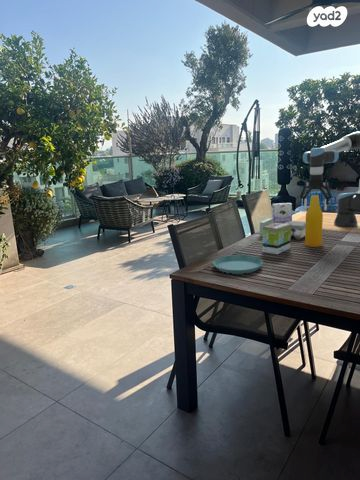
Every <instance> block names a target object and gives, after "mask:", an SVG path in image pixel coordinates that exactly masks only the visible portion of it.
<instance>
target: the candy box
mask: <svg viewBox="0 0 360 480" xmlns="http://www.w3.org/2000/svg"><path fill="white" fill-rule="evenodd" d="M271 207H272V209H271V211H272V214H271V215H272V216H271V218H273V224H274V223H284V224H285V223H286V222H289V221H293V203H291V202H279V203H272V205H271Z"/></svg>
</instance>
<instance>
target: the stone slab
mask: <svg viewBox="0 0 360 480" xmlns="http://www.w3.org/2000/svg"><path fill="white" fill-rule="evenodd" d="M285 224H291V229H299V230H302V229H304V228H305V227H306V221H300V220H292V221H289V222H287V223H285Z"/></svg>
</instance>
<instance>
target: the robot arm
mask: <svg viewBox="0 0 360 480" xmlns="http://www.w3.org/2000/svg"><path fill="white" fill-rule="evenodd" d="M349 150H360V130H358V131H354V132H352V133H349V134H347V135H344V136H343V137H341V138H340V139H339V140H336V141H334V142H332V143H329V144H327V145H323V146H321V147H312V148H311V149H310V150H309V151H305V152H304V153H303V155H302V161H303V163H305V164H309V182H304V183H303V189H302V190H301V193H300V195H299V198H300V199H302V205H304V209H303V210H308V208H307V206H308V199H307V197H308V195H309V194H310V193H311V191H313V190H314V191H315V190H319V191H320V192H321V194H322V195H323V197H325V199H324V206H323V207H324V211H327V210H328V205H329V203H330V199H333V195H332V192H331V190H330V186H329V182H324V164H332V163H336V162H337V161H338V160H339V157H340V154H339V153H341V152H343V151H349ZM308 186H309V189H307V188H308ZM323 186H324V187H325V190H324V188H323ZM306 190H307V191H306ZM326 192H327V193H326ZM336 208H337V209H336V210H337V211H336V217H335V219H334V221H333V225H334V226H337V227H343V228H344V227H345V228H346V227H348V228H350V227H352V228H353V227H357V226H358V220H357V217H356V213H360V180H359V182H358V191H356V192H345V193H344V192H343V193H340V194H338V196H337V207H336ZM356 225H357V226H356Z"/></svg>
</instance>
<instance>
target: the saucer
mask: <svg viewBox="0 0 360 480" xmlns="http://www.w3.org/2000/svg"><path fill="white" fill-rule="evenodd" d="M263 263H264V261H263V260H262V259H261V258H260V257H258V256H253V255H250V254H249V255H248V254H231V255H225V256H220V257H217V258H216V259H214V260H213V263H212V264H213V266H214V267H215V268H216V270H218V271H219V272H221V271H222V272H221V273H224V272H226V273H225V274H229V273H232V274H231V275H245V274H244V273H246V274H251V273H254V272H256V271H257V270H259V269H260V268H261V267H262V266H263V265H264V264H263ZM218 266H219V267H222V268H227V269H222V268H219V267H218ZM228 269H230V270H228Z"/></svg>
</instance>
